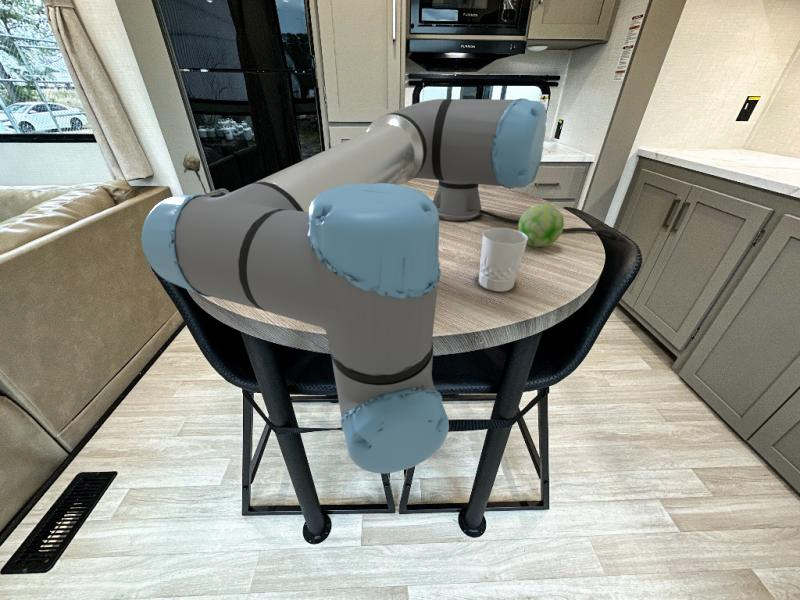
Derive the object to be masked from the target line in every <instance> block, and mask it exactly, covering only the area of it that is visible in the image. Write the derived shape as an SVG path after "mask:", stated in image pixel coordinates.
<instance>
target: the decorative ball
mask: <svg viewBox="0 0 800 600" xmlns="http://www.w3.org/2000/svg"><path fill="white" fill-rule="evenodd" d="M519 220H520V221H519V224H518V225H517V226H518V231H520V232H523V233H524V234H526V235H527V237H528V241H527V244H526V245H529V246H530V247H531V246H532V247H534V248H544V247H548V246H551V245H552V244H553V243H554V242H556V241H557V240H558V239H559V238H560V236H561V235H562V233H564V232H563V229H564V225H565V224H564V223H565V221H564V216H563V214H562V212H561V211H560V210H559V209H558V208H556V207H555V206H554V205H551V204H548V203H539V204H535V205H533V206H530V207H529V208H528V209H526V210H525V212H524V213H523V214H521V216H520V218H519Z"/></svg>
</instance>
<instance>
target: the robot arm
mask: <svg viewBox="0 0 800 600" xmlns="http://www.w3.org/2000/svg"><path fill="white" fill-rule="evenodd" d="M547 117H548V115H547V108H546V106H545V105H544V104H543V102H541V101H539V100H530V99H527V98H524V97H523V98H517V99H490V98H489V99H486V98H485V99H484V98H483V99H478V98H476V99H475V98H474V99H473V98H471V99H470V98H469V99H467V98H466V99H465V98H463V99H462V98H460V99H459V98H457V99H456V98H454V99H452V98H451V99H450V98H437V99H436V98H435V99H429V100H423V101H419V102H417V103H414V104H411V105H407V106H404V107H402V108H399V109H397V110H393V111H391V112H389V113H386V114H384V115H381V116H379V117H377V118H376V119H375V120H373V121H372V122H371V123H370V125H369V126H368V127H367V130H366V131H365V132H363V133H360V134H358V135H356V136H355V137H352V138H350V139H347V140H345V141H343V142H340V143H339V144H337V145H334V146H331V147H330V148H328V149H326V150H324V151H321V152H319V153H317V154H315V155H313V156H310V157H308V158H306V159H304V160H301V161H299V162H298V163H295V164H292V165H291V166H288V167H286V168H284V169H282V170H279V171H277V172H275V173H272V174H271V175H267V176H266V177H263V178H262V179H260V180H257V181H255V182H252V183H250V184H247V185H245V186H243V187H241V188H238V189H236V190H233V191H231V192H230V193H229V194H226V195H224V196H221V197H216V198H213V197H211V196H208V195H206V194H205V193H204V194H202V193H201V194H200V193H199V194H194V193H193V194H191V195H185V194H181V195H180V194H179V195H174V196H171V197H168V198H165V199H164V200H162V201H159V202H158V203H157V204H156V205H155V206H154V207H153V208H152V209H151V210H150V212H149V213H148V215H147V216H146V217H145V220H144V223H143V225H142V230H141V246H142V251H143V255H144V257H145V258H146V260H147V264H148V265H149V266H150V267H151V268H152V270H153V271H154V272H155V273H156V274H157V275H158V276H159V277H161V278H162V279H164V280H165V281H167V282H168V283H172V284H173V285H175V286H178V287H180V288H183V289H185V290H188V291H191V292H193V293H195V294H196V295H199V296H203V297H207V298H216V299H220V300H223V301H227V302H231V303H235V304H239V305H243V306H246V307H249V308H253V309H257V310H260V311H264V312H268V313H271V314H273V315H276V316H277V315H278V316H281V317H284V318H288V319H291V320H294V321H297V322H298V321H299V322H302V323H304V324H309V325H312V326H316V327H319V328H322V329H324V330H325V333H326V337H327V341H328V347H329V352H330V357H331V362H332V368H333V373H334V381H335V387H336V393H337V398H338V405H339V411H340V425H341V427H340V428H341V430H342V431H343V435H344V439H345V443H346V447H347V448H346V449H347V453H348V456H349V458H350V459H351V461H352V462H353V464H355V465H356V466H357V467H358V468H360V469H362V470H364V471H365V472H369V473H373V474H393V473H398V472H401V471H405V470H407V469H408V470H409V469H412V468H414V467H417V466H418V465H420V464H422V463H423V462H425V461H427V460H429V459H430V458H431V457H432V456H433V455H434V454H436V453H437V451H439V449H440V448H441V447H442V446H443V444H444V443H445V441H446V440H447V437H448V435H449V431H450V430H449V429H450V424H449V422H450V421H449V418H448V414H447V412H446V409H445V406H444V404H443V396H442V394H441V393H440V392H439V390H437V389H436V387H435V385H434V381H433V376H432V375H433V374H432V373H433V372H432V371H433V360H434V359H433V358H434V342H433V338H434V337H433V336H434V325H435V315H436V307H437V306H436V305H437V295H438V285H439V282H440V279H441V273H442V272H441V268H440V265H441V263H440V260H439V259H440V256H439V254H440V253H439V252H440V251H439V250H440V236H439V235H440V220H444V221H450V222H451V221H452V222H467V221H468V222H469V221H473V220H476V219H479V218H480V217H481V215H482V214H483V215H486V216H488V217H491V218H494V219H497V220H500V221H504V222H507V223H511V224H519V221H520V219H514V218H509V217H504V216H501V215H498V214H495V213H492V212H490V211H487V210H484V209H482V204H481V198H480V193H479V185H484V186H493V187H503V188H505V189H514V188H519V189H520V188H522V189H523V188H526V187H527V186H529V185H531V184H532V183H534V182H535V180H536V177H537V175H538V172H539V168H540V165H541V160H542V156H543V151H544V142H545V137H546V132H547V131H546V130H547V125H546V123H547V119H548V118H547ZM413 179H419V180H420V179H421V180H432V181H438V183H437V184H438V185H437V189H436V192H435V194H434V196H433V199H431V198H430V197H429V196H428V195H427V194H425V193H423V192H422V191H420V190H418V189H417V188H413V187H410V186H406V185H403V184H406V183H408V182H410V181H411V180H413ZM571 232H586V233H603V234H606V235H610V236H612V237H613V239H614V240H616V241H621V238H620V236H619V235H618V234H617V233H616V232H614V230H613V231H612V230H610V229H606V228H591V227H590V228H589V227H569V228H563V232H562V233H571Z"/></svg>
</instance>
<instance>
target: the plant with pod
mask: <svg viewBox="0 0 800 600" xmlns="http://www.w3.org/2000/svg"><path fill="white" fill-rule="evenodd" d="M182 166H183V167H184V170H183V173H184V174H185V173H187V171H192V172H194V173H195V175H196V177H197V178H198V181H199V182H200V184H201V188H202V189H203V193H204V195H208V196H211V197H213V198H216V197H221V196H224V195H226V194H229V193H231V192H230V191H229V190H227V189H226V188H219V189H215V190H211V191H210V192H207V190H206V187H205V185H204V183H203V181H202V179H201V174H200V173H199V172H200V170H201V159H200V158H198V157H196V156H194V155H193V154H190V153H186V154H185V155H184V158H183V162H182Z"/></svg>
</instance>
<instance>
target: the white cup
mask: <svg viewBox="0 0 800 600" xmlns="http://www.w3.org/2000/svg"><path fill="white" fill-rule="evenodd" d="M527 241H528V237H527V235H526V234H524V233H523V232H520V231H519V229H514V228H509V227H491V228H488V229H487V228H486V229H485V230H484V231H483V232H482V237H481V247H480V255H479V256H480V257H479V273H478V283H479V285H480V286H481V287H482V288H484V289H486V290H489V291H493V292H500V293H501V292H507V291H510V290H511V289H513V288H514V286H515V282H516V279H517V275H518V274H519V271H520V267H521V264H522V261H523V258H524V254H525V251H526V248H527V245H528V244H527Z"/></svg>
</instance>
